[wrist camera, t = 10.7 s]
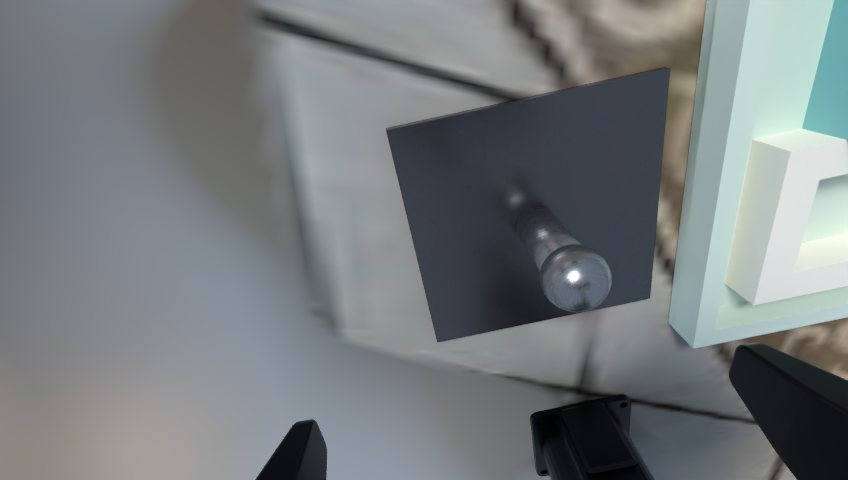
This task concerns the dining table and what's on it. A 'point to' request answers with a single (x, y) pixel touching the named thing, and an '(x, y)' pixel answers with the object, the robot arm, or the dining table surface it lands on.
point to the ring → (795, 190)
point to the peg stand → (535, 203)
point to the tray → (728, 156)
